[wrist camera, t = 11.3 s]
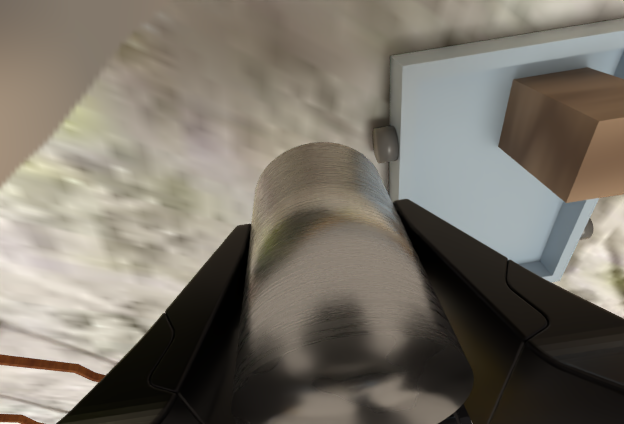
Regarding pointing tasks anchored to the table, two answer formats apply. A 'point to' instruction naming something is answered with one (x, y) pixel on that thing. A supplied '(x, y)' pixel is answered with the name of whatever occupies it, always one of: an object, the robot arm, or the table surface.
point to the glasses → (47, 365)
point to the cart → (488, 140)
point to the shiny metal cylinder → (339, 304)
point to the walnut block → (568, 132)
